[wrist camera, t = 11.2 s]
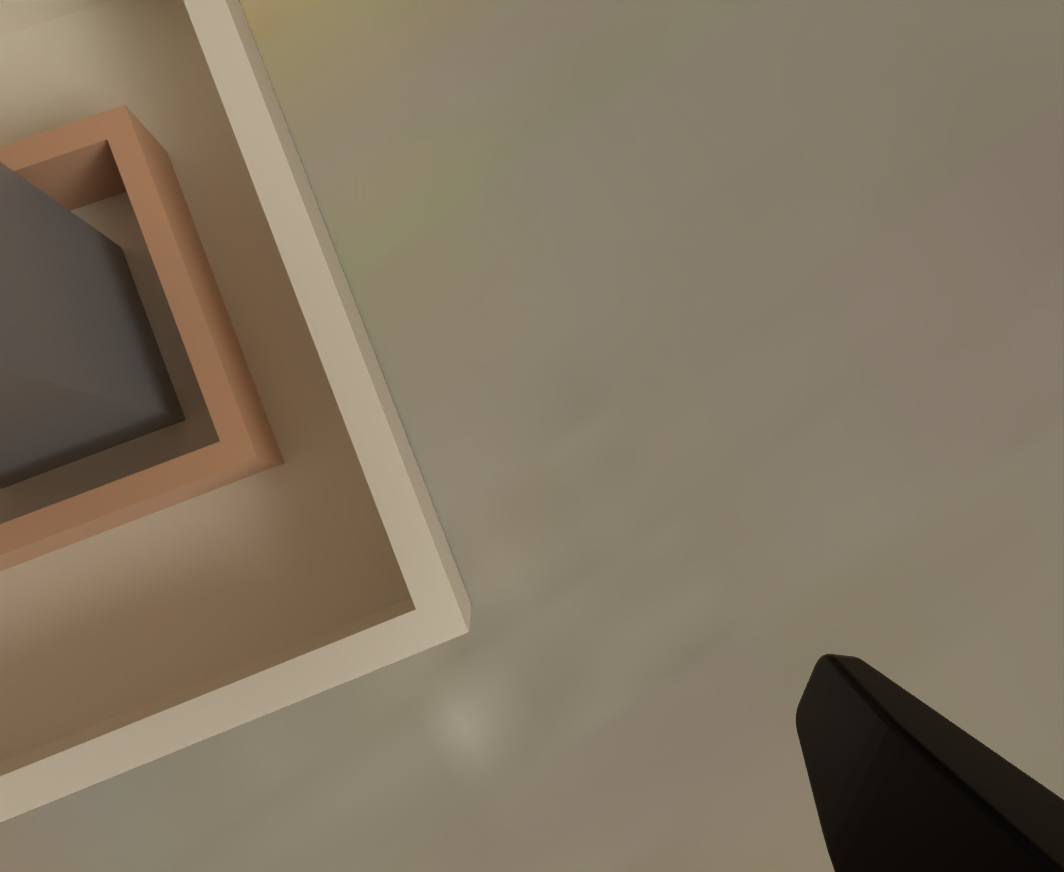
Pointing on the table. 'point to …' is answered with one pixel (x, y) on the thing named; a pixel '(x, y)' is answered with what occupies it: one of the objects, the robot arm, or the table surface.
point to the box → (199, 418)
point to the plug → (70, 340)
